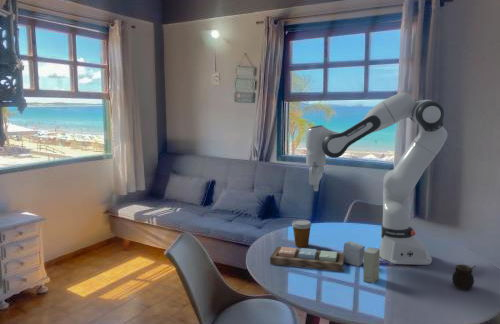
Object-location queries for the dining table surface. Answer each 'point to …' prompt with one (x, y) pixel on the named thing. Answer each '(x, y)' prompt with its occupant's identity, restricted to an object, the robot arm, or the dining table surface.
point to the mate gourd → (463, 277)
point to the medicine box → (353, 253)
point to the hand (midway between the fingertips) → (316, 190)
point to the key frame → (308, 261)
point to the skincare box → (371, 265)
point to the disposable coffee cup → (301, 232)
